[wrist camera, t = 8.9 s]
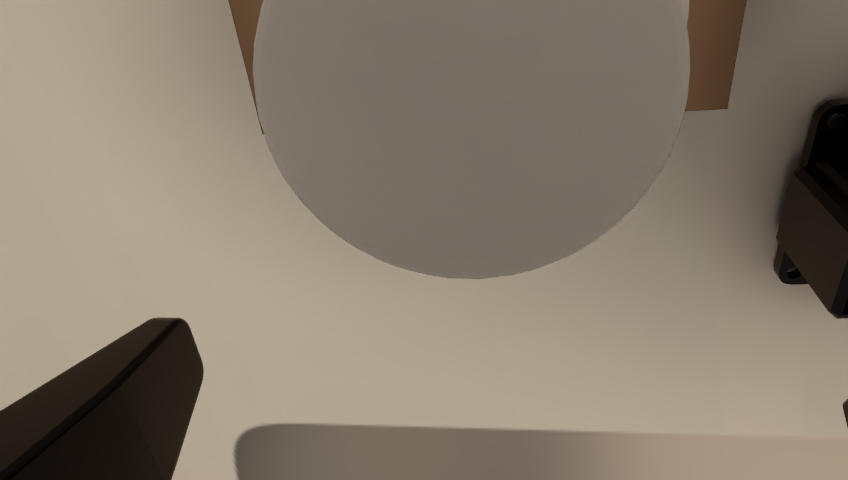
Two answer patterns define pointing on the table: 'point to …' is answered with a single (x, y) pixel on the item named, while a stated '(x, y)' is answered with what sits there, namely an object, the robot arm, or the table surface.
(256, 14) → the block
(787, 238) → the robot arm
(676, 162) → the table surface
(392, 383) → the table surface
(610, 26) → the supplement bottle
